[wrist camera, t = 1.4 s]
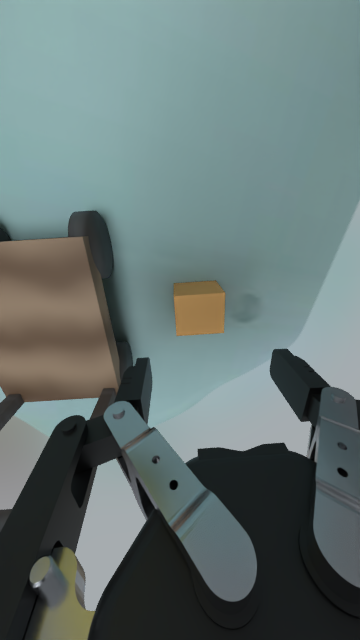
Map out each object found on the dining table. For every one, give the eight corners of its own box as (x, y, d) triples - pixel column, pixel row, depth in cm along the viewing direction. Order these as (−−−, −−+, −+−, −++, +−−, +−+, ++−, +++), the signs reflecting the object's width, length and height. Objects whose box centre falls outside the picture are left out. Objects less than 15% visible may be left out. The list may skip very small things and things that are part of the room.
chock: (215, 280, 24) (225, 292, 20) (215, 314, 26) (223, 332, 22) (173, 283, 24) (173, 296, 20) (176, 316, 26) (176, 335, 22)
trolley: (-12, 220, 21) (-717, 193, 4) (105, 212, 21) (-158, 157, 4) (51, 375, 29) (-110, 568, 13) (134, 369, 29) (82, 556, 13)
